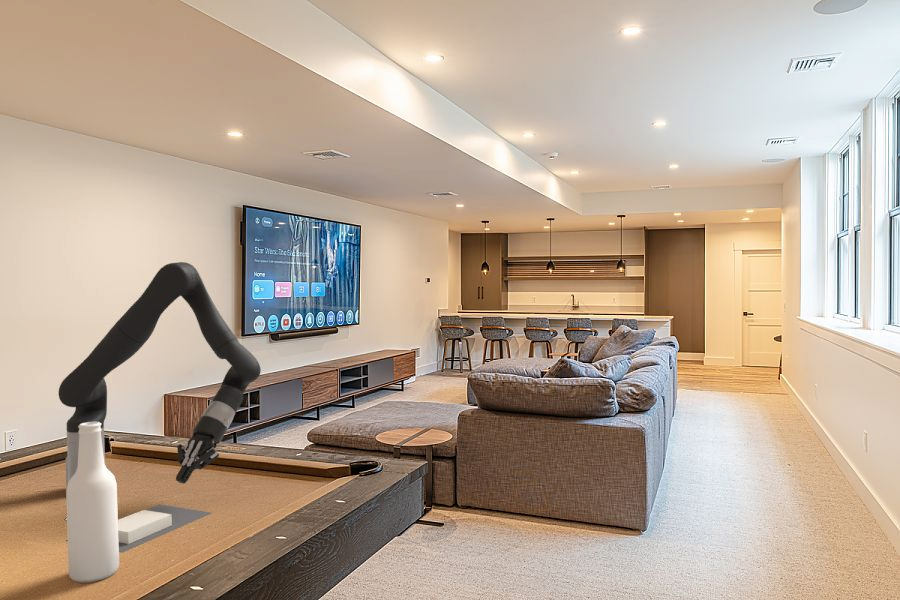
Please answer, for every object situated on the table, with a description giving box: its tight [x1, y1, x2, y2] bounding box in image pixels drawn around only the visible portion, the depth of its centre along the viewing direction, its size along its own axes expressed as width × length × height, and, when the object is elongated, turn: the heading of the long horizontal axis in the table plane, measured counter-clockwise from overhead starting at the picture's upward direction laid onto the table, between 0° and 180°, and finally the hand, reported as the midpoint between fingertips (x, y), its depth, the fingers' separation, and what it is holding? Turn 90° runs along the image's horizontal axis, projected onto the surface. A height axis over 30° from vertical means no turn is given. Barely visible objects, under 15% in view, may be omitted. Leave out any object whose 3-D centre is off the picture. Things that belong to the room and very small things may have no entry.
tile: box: [118, 509, 172, 544], centre depth 151 cm, size 9×3×12 cm
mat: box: [65, 503, 212, 553], centre depth 155 cm, size 18×26×1 cm
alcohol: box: [65, 422, 120, 584], centre depth 129 cm, size 9×9×30 cm
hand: (180, 481), depth 163 cm, fingers closed
